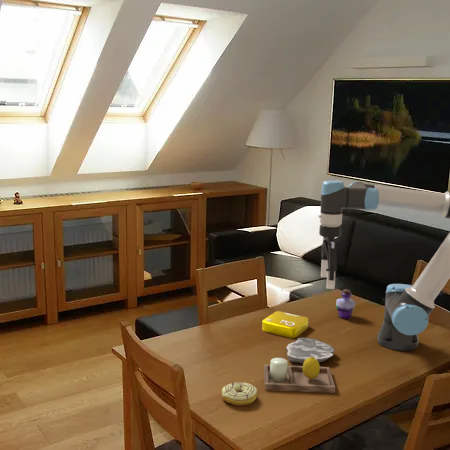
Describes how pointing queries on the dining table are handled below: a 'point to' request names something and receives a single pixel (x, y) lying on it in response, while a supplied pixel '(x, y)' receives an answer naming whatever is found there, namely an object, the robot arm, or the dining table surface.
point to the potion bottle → (345, 305)
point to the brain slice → (308, 350)
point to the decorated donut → (239, 393)
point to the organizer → (301, 381)
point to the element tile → (285, 324)
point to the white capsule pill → (278, 370)
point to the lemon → (311, 368)
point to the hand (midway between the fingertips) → (327, 282)
